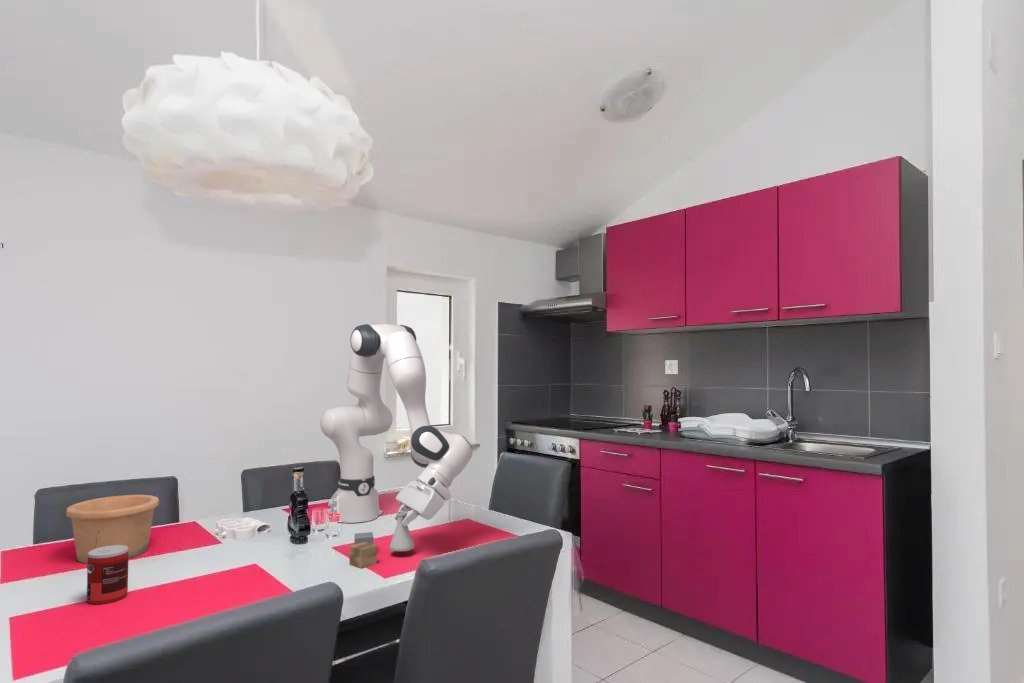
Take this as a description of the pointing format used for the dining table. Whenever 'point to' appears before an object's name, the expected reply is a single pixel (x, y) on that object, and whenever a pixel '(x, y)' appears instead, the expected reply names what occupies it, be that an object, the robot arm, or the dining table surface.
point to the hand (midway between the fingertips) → (399, 522)
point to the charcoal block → (364, 538)
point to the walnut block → (363, 555)
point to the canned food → (107, 574)
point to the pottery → (112, 523)
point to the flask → (401, 535)
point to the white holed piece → (240, 528)
